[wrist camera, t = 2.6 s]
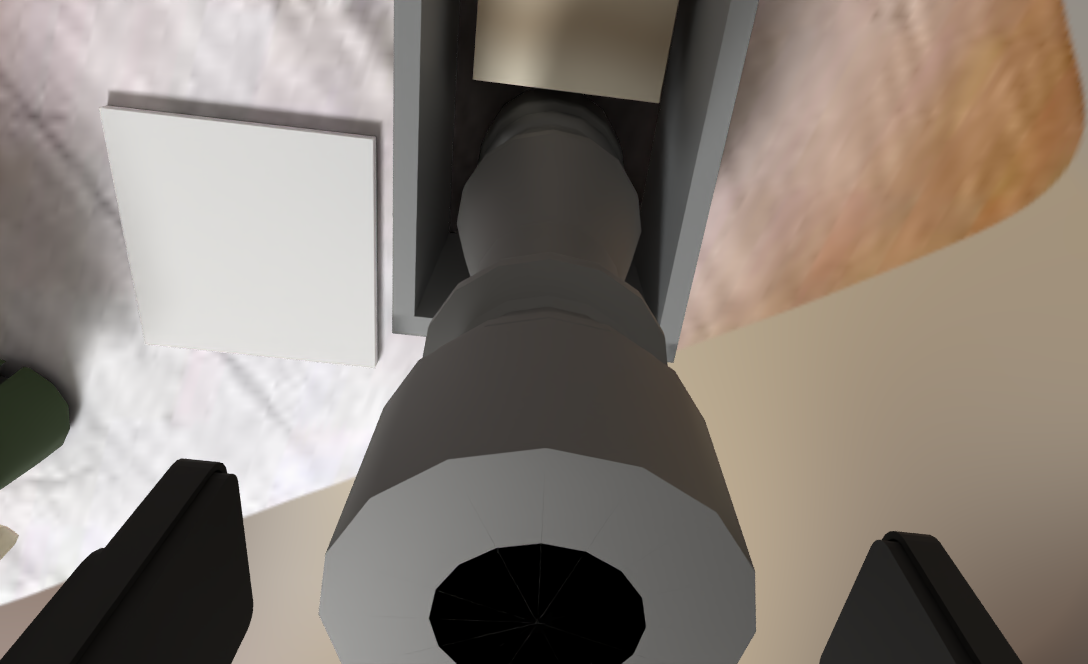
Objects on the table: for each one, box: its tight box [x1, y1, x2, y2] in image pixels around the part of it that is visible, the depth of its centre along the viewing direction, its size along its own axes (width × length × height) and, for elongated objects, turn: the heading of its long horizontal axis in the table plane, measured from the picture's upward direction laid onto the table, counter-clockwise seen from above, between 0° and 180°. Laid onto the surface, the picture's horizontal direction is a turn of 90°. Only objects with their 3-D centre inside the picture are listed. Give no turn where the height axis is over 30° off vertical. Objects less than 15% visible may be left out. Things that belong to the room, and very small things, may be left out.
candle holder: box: [319, 88, 756, 664], centre depth 20 cm, size 6×6×25 cm
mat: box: [99, 105, 378, 368], centre depth 33 cm, size 12×12×1 cm
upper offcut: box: [473, 0, 679, 103], centre depth 25 cm, size 6×7×2 cm
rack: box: [392, 0, 759, 363], centre depth 25 cm, size 16×11×9 cm, turn 174°
